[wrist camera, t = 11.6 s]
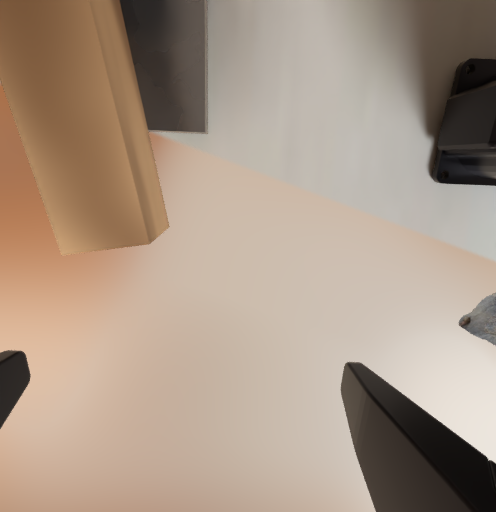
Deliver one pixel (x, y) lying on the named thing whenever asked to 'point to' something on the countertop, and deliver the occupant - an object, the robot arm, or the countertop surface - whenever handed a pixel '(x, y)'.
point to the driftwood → (482, 320)
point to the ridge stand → (170, 62)
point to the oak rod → (82, 121)
